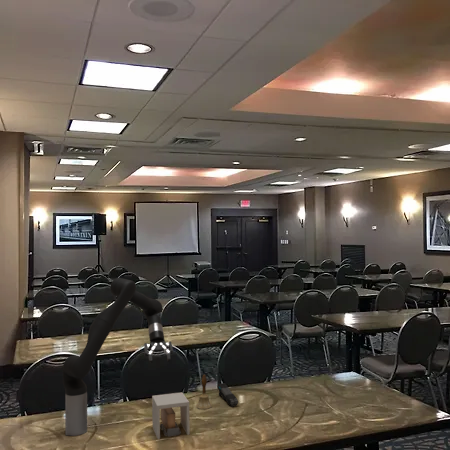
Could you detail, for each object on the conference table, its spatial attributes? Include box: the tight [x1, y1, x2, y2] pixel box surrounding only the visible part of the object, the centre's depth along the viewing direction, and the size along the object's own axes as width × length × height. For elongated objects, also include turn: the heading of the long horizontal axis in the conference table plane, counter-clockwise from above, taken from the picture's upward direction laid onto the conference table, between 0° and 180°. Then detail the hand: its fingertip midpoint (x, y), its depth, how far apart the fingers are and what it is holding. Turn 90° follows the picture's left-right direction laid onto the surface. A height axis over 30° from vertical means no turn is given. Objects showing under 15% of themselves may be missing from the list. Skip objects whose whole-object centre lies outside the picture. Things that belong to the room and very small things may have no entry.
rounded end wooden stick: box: [160, 407, 176, 432], centre depth 218 cm, size 18×4×8 cm, turn 18°
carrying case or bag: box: [160, 391, 177, 395], centre depth 254 cm, size 11×3×15 cm
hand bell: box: [195, 374, 213, 410], centre depth 244 cm, size 8×8×16 cm
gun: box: [216, 382, 239, 408], centre depth 251 cm, size 4×20×10 cm, turn 21°
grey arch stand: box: [151, 392, 191, 440], centre depth 213 cm, size 14×14×14 cm
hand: (160, 361), depth 238 cm, fingers open, 8 cm apart
